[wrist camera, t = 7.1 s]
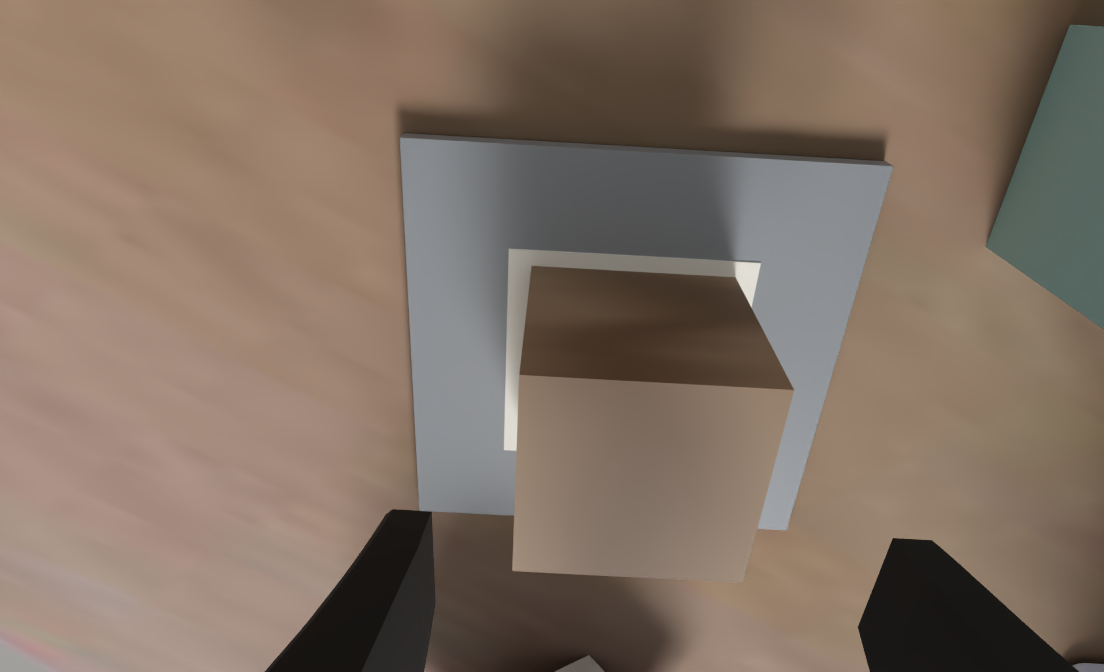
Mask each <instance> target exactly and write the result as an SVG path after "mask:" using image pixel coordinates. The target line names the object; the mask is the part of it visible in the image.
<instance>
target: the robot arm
mask: <svg viewBox="0 0 1104 672" xmlns="http://www.w3.org/2000/svg"><path fill="white" fill-rule="evenodd" d="M434 608H435V584H434V559H433V534H432V512H429V511H412V510H395V509H393V510H391V511H390V512H389V513H387V514H386V515H385V517H384V518H383V520H382V521H381V523H380V525H379V526H378V528H377V529H376V531H375V532H374V534H373V535H372V537H371V538H370V540H369V541H368V543H367V544H366V545H365V547H364V548H363V550H362V551H361V553H360V554H359V555H358V557H357V558H356V560H355V561H354V562H353V564H352V565H351V566H350V568H349V569H348V571H347V572H346V573H345V575H344V576H343V577H342V579H341V580H340V581H339V583H338V584H337V585H336V587H335V588H334V589H333V590H332V592H331V593H330V594H329V595H328V597H327V598H326V599H325V601H324V602H323V603H322V604H321V606H320V607H319V608H318V609H317V611H316V612H315V613H314V615H313V616H312V617H311V618H310V620H309V621H308V622H307V623H306V625H305V626H304V627H303V628H302V629H301V631H300V632H299V633H298V634H297V635H296V636H295V637H294V639H293V640H292V641H291V642H290V643H289V644H288V646H287V647H286V648H285V649H284V650H283V651H282V652H281V654H280V655H279V656H278V657H277V658H276V659H275V660H274V662H273V663H272V664H271V665H270V666H269V667H268V669H267V670H266V671H265V672H424V668H425V663H426V657H427V651H428V645H429V639H430V633H431V627H432V620H433V614H434ZM858 629H859V633H860V637H861V640H862V644H863V648H864V652H865V655H866V659H867V663H868V666H869V670H870V672H1104V664H1094V663H1078V664H1075V665H1071V664H1070V663H1069V662H1068V661H1066V660H1065V659H1064V658H1063V657H1062V656H1061V655H1059V654H1058V653H1057V652H1056V651H1055V650H1054V649H1053V648H1052V647H1050V646H1049V645H1048V644H1047V643H1046V642H1045V641H1044V640H1043V639H1041V638H1040V637H1039V636H1038V635H1037V634H1036V633H1035V632H1034V631H1032V630H1031V629H1030V628H1029V627H1028V626H1027V625H1026V624H1025V623H1024V622H1022V621H1021V620H1020V619H1019V618H1018V617H1017V616H1016V615H1015V614H1014V613H1013V612H1011V611H1010V610H1009V609H1008V608H1007V607H1006V606H1005V605H1004V604H1003V603H1002V602H1000V601H999V600H998V599H997V598H996V597H995V596H994V595H993V594H992V593H991V592H990V591H988V590H987V589H986V588H985V587H984V586H983V585H982V584H981V583H980V582H979V581H977V580H976V579H975V578H974V577H973V576H972V575H971V574H970V573H969V572H968V571H966V570H965V569H964V568H963V567H962V566H961V565H960V564H959V563H958V562H956V561H955V560H954V559H953V558H952V557H951V556H950V555H948V554H947V553H946V552H945V551H944V550H943V549H942V548H940V547H939V546H938V545H937V544H936V543H934V542H933V541H932V540H916V539H898V538H893V539H892V542H891V544H890V547H889V549H888V552H887V555H886V557H885V560H884V562H883V565H882V567H881V570H880V572H879V575H878V577H877V580H876V583H875V585H874V588H873V590H872V593H871V595H870V598H869V600H868V603H867V605H866V608H865V610H864V613H863V616H862V618H861V621H860V623H859V626H858Z"/></svg>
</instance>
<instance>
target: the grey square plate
mask: <svg viewBox="0 0 1104 672" xmlns="http://www.w3.org/2000/svg"><path fill="white" fill-rule="evenodd" d="M400 152H401V171H402V190H403V209H404V228H405V247H406V266H407V285H408V304H409V323H410V342H411V361H412V380H413V399H414V418H415V437H416V456H417V475H418V494H419V511H433V512H452V513H471V514H489V515H508V516H514V507H515V478H516V450H517V422H518V394H519V372H520V363H521V354H522V346H523V337H524V328H525V319H526V310H527V301H528V293H529V284H530V275H531V266H545V267H562V268H580V269H598V270H615V271H633V272H651V273H669V274H686V275H704V276H722V277H736V279H737V281H738V283H739V285H740V287H741V289H742V291H743V292H744V294H745V296H746V298H747V300H748V302H749V304H750V306H751V308H752V310H753V312H754V314H755V316H756V317H757V319H758V321H759V323H760V325H761V327H762V329H763V331H764V333H765V335H766V337H767V339H768V341H769V342H770V344H771V346H772V348H773V350H774V352H775V354H776V356H777V358H778V360H779V362H780V364H781V365H782V367H783V369H784V371H785V373H786V375H787V377H788V379H789V381H790V383H791V385H792V387H793V389H794V393H793V397H792V401H791V404H790V408H789V412H788V416H787V419H786V423H785V427H784V431H783V434H782V438H781V442H780V446H779V449H778V453H777V457H776V461H775V465H774V468H773V472H772V476H771V480H770V483H769V487H768V491H767V495H766V498H765V502H764V506H763V510H762V513H761V517H760V521H759V525H758V528H757V529H771V530H787V526H788V523H789V520H790V516H791V513H792V509H793V506H794V503H795V499H796V496H797V492H798V489H799V486H800V482H801V479H802V475H803V472H804V469H805V465H806V462H807V458H808V455H809V452H810V448H811V445H812V441H813V438H814V435H815V431H816V428H817V424H818V421H819V418H820V414H821V411H822V407H823V404H824V401H825V397H826V394H827V390H828V387H829V384H830V380H831V377H832V373H833V370H834V366H835V363H836V360H837V356H838V353H839V349H840V346H841V343H842V339H843V336H844V332H845V329H846V326H847V322H848V319H849V315H850V312H851V309H852V305H853V302H854V298H855V295H856V292H857V288H858V285H859V281H860V278H861V275H862V271H863V268H864V264H865V261H866V258H867V254H868V251H869V247H870V244H871V241H872V237H873V234H874V230H875V227H876V224H877V220H878V217H879V213H880V210H881V207H882V203H883V200H884V196H885V193H886V190H887V186H888V183H889V179H890V176H891V173H892V169H893V166H892V165H891V164H889V163H887V162H886V161H874V160H857V159H840V158H823V157H806V156H788V155H771V154H754V153H737V152H720V151H703V150H685V149H668V148H651V147H634V146H617V145H600V144H583V143H565V142H548V141H531V140H514V139H497V138H480V137H463V136H445V135H428V134H411V133H403V135H402V136H401V137H400Z"/></svg>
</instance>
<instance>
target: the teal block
mask: <svg viewBox="0 0 1104 672" xmlns="http://www.w3.org/2000/svg"><path fill="white" fill-rule="evenodd" d="M986 247H987V248H988V249H990V250H991V251H992V252H994V253H995V254H997V255H998V256H1000V257H1001V258H1002V259H1004V260H1005V261H1007V262H1008V263H1010V264H1011V265H1012V266H1014V267H1015V268H1017V269H1018V270H1020V271H1021V272H1022V273H1024V274H1025V275H1027V276H1028V277H1030V278H1031V279H1032V280H1034V281H1035V282H1037V283H1038V284H1040V285H1041V286H1042V287H1044V288H1045V289H1047V290H1048V291H1050V292H1051V293H1052V294H1054V295H1055V296H1057V297H1058V298H1060V299H1061V300H1062V301H1064V302H1065V303H1067V304H1068V305H1070V306H1071V307H1072V308H1074V309H1075V310H1077V311H1078V312H1080V313H1081V314H1082V315H1084V316H1085V317H1087V318H1088V319H1090V320H1091V321H1092V322H1094V323H1095V324H1097V325H1098V326H1100V327H1101V328H1102V329H1104V27H1103V26H1086V25H1070V26H1069V28H1068V31H1067V33H1066V36H1065V39H1064V41H1063V44H1062V47H1061V49H1060V52H1059V55H1058V57H1057V60H1056V62H1055V65H1054V68H1053V70H1052V73H1051V76H1050V78H1049V81H1048V84H1047V86H1046V89H1045V91H1044V94H1043V97H1042V99H1041V102H1040V105H1039V107H1038V110H1037V113H1036V115H1035V118H1034V120H1033V123H1032V126H1031V128H1030V131H1029V134H1028V136H1027V139H1026V142H1025V144H1024V147H1023V149H1022V152H1021V155H1020V157H1019V160H1018V163H1017V165H1016V168H1015V171H1014V173H1013V176H1012V178H1011V181H1010V184H1009V186H1008V189H1007V192H1006V194H1005V197H1004V200H1003V202H1002V205H1001V207H1000V210H999V213H998V215H997V218H996V221H995V223H994V226H993V229H992V231H991V234H990V236H989V239H988V242H987V244H986Z"/></svg>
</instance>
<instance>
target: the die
mask: <svg viewBox="0 0 1104 672" xmlns="http://www.w3.org/2000/svg"><path fill="white" fill-rule="evenodd" d="M555 672H604V671H603V669H602V668H601V667H600V666H599V665H598V664H597V663H596V662H595V661H594V660H593V659H592V658H591V656H590V655H588V656H586V657H584V658H582V659H580V660H578V661H576V662H573V663H571V664H569V665H567V666H565V667H563V668H561V669H559V670H557V671H555Z"/></svg>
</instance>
